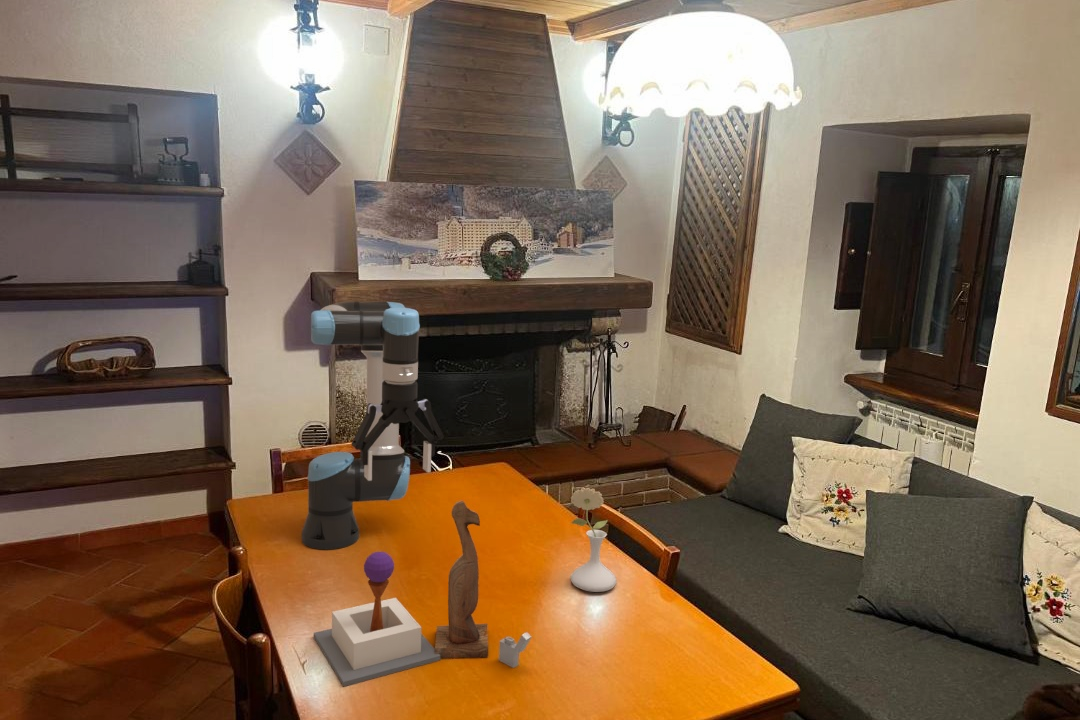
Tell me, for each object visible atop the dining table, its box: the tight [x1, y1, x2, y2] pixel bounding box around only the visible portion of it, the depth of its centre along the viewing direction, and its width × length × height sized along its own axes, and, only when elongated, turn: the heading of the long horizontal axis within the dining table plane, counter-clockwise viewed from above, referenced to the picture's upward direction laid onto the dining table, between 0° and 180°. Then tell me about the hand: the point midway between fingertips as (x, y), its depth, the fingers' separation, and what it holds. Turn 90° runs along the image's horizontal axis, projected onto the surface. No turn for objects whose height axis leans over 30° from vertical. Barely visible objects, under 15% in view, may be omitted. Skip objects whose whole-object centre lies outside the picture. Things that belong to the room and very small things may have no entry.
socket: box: [313, 597, 441, 688], centre depth 162 cm, size 20×20×6 cm
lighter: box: [498, 632, 532, 669], centre depth 159 cm, size 7×2×8 cm, turn 50°
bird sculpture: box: [434, 500, 489, 660], centre depth 163 cm, size 11×12×32 cm
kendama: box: [363, 551, 395, 632], centre depth 161 cm, size 6×6×20 cm
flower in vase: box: [570, 487, 617, 593], centre depth 194 cm, size 13×11×25 cm
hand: (397, 474), depth 173 cm, fingers open, 13 cm apart
